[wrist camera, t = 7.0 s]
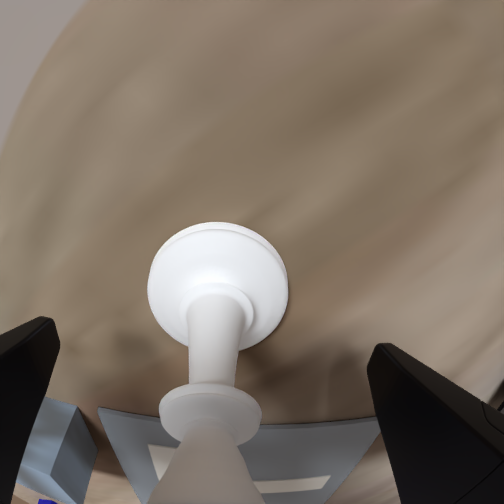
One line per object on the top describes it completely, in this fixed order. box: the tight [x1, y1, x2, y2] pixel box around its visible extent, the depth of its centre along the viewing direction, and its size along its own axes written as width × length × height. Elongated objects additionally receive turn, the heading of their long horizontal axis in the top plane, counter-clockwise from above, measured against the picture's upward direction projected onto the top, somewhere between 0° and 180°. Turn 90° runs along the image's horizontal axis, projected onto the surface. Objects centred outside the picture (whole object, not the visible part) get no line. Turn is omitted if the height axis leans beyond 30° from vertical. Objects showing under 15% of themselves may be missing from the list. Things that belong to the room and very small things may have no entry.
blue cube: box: [16, 397, 98, 504], centre depth 12 cm, size 5×5×5 cm
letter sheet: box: [97, 407, 381, 504], centre depth 17 cm, size 16×16×1 cm
